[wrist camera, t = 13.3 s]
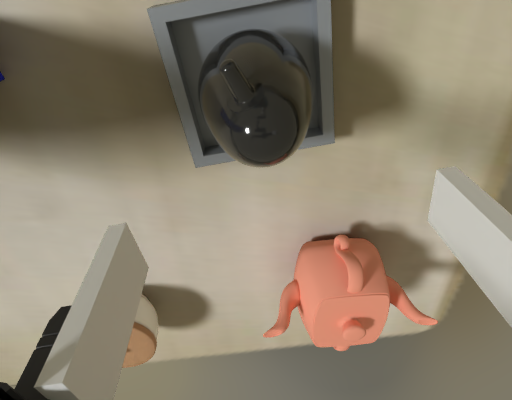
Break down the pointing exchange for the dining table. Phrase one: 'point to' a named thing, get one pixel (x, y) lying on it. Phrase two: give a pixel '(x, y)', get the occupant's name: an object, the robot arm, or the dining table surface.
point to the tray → (230, 21)
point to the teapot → (342, 294)
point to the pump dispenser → (256, 97)
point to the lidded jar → (142, 335)
